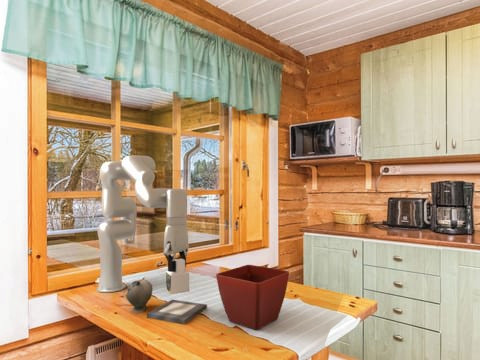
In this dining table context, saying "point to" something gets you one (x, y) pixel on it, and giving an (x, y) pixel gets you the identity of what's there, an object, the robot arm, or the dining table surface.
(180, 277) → the medicine bottle
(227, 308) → the plant pot
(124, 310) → the dining table surface
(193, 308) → the charcoal board
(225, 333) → the dining table surface
